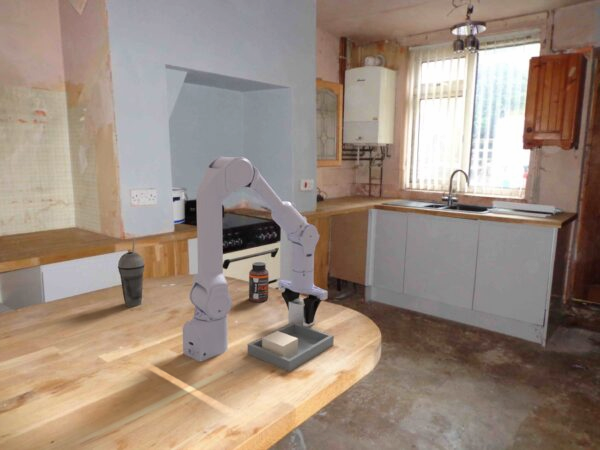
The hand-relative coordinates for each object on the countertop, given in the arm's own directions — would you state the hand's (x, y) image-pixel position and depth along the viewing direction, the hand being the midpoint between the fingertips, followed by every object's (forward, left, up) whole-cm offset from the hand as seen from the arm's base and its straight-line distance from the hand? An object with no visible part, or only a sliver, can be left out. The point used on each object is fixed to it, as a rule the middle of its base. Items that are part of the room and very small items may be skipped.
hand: (301, 320), depth 110 cm
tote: (-13, -7, -2) cm, 14 cm away
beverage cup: (-19, +48, -2) cm, 52 cm away
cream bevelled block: (-17, -7, -1) cm, 18 cm away
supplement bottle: (+8, +23, -2) cm, 24 cm away
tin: (0, 0, -2) cm, 2 cm away
